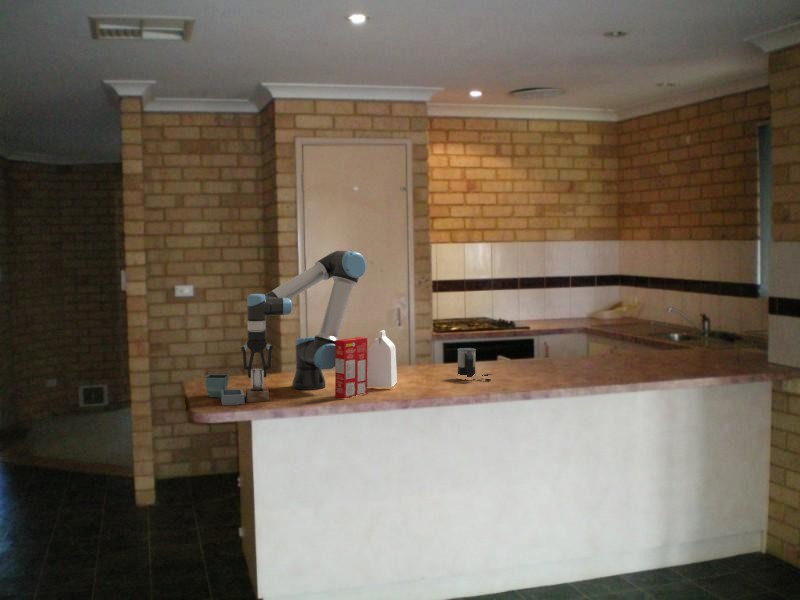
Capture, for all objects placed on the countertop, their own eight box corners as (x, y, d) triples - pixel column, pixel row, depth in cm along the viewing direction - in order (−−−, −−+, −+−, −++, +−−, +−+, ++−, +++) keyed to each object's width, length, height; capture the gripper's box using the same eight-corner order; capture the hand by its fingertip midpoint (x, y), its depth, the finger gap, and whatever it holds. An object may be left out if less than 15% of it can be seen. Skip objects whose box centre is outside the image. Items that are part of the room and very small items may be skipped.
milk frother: (453, 378, 415) (453, 348, 414) (481, 376, 421) (482, 346, 420) (467, 383, 402) (467, 352, 401) (496, 380, 408) (496, 350, 407)
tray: (242, 398, 363) (242, 389, 362) (244, 404, 350) (244, 394, 350) (220, 399, 360) (220, 389, 360) (222, 405, 348) (222, 395, 348)
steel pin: (261, 396, 363) (261, 368, 362) (262, 398, 359) (262, 370, 358) (252, 396, 362) (251, 368, 361) (253, 398, 358) (252, 370, 357)
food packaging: (358, 392, 376) (358, 337, 374) (367, 394, 373) (367, 338, 371) (335, 397, 365) (335, 340, 363) (344, 399, 362) (344, 341, 360)
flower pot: (229, 394, 371) (228, 374, 370) (225, 398, 362) (225, 377, 361) (208, 394, 370) (208, 374, 370) (204, 398, 362) (204, 377, 361)
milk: (391, 389, 384) (392, 332, 382) (367, 388, 386) (367, 332, 384) (397, 385, 396) (397, 329, 393) (373, 384, 398) (373, 329, 396)
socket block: (266, 396, 366) (266, 387, 366) (268, 400, 358) (268, 391, 357) (245, 397, 364) (245, 388, 364) (247, 401, 355) (247, 392, 355)
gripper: (275, 328, 364) (276, 382, 366) (235, 330, 360) (236, 384, 362) (277, 331, 357) (278, 385, 359) (236, 332, 353) (237, 387, 355)
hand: (257, 385), depth 360 cm, fingers closed on steel pin, 4 cm apart
